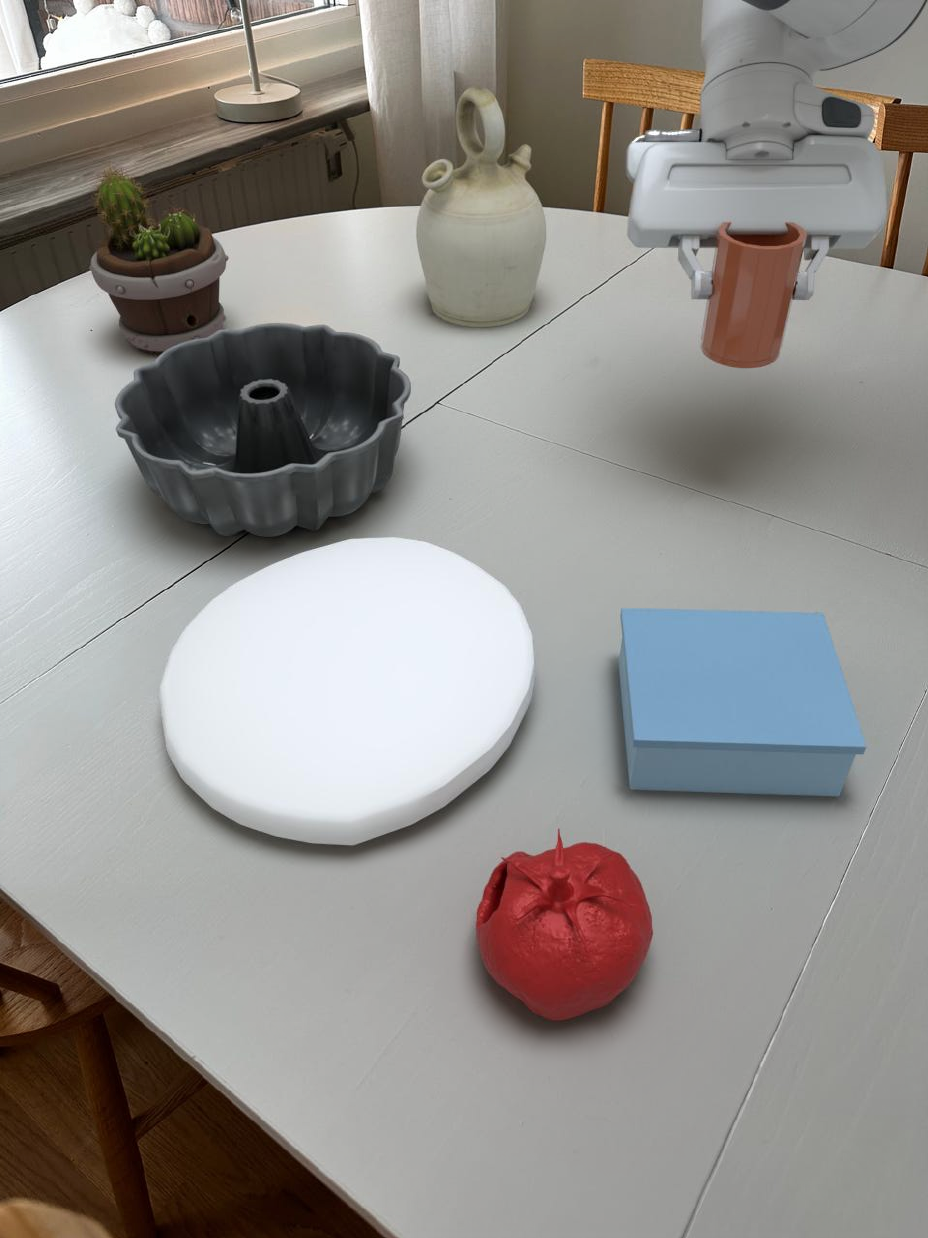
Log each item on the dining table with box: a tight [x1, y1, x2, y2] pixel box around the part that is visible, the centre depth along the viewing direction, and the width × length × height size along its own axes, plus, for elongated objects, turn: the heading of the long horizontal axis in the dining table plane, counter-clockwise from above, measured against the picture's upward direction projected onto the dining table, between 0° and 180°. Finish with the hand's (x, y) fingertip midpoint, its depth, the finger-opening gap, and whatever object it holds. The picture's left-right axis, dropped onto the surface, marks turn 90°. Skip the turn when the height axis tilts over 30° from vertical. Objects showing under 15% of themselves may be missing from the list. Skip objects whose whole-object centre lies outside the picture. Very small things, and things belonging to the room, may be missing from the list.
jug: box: [415, 85, 547, 328], centre depth 113 cm, size 15×16×25 cm
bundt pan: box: [114, 322, 412, 538], centre depth 91 cm, size 26×26×10 cm
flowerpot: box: [88, 160, 229, 356], centre depth 110 cm, size 14×15×20 cm
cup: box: [700, 222, 807, 369], centre depth 80 cm, size 7×7×10 cm
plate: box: [158, 536, 537, 846], centre depth 71 cm, size 28×6×27 cm
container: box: [618, 607, 867, 797], centre depth 69 cm, size 15×13×6 cm
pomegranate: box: [475, 828, 654, 1021], centre depth 55 cm, size 10×10×9 cm
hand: (752, 297), depth 79 cm, fingers closed on cup, 6 cm apart
